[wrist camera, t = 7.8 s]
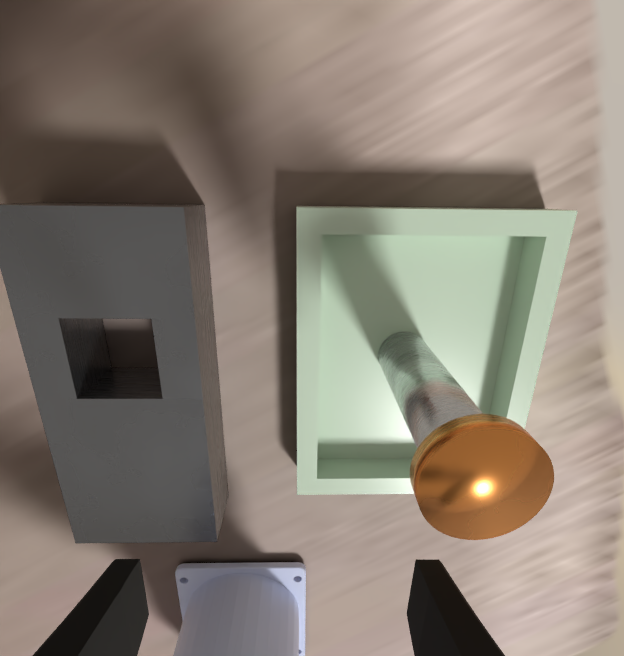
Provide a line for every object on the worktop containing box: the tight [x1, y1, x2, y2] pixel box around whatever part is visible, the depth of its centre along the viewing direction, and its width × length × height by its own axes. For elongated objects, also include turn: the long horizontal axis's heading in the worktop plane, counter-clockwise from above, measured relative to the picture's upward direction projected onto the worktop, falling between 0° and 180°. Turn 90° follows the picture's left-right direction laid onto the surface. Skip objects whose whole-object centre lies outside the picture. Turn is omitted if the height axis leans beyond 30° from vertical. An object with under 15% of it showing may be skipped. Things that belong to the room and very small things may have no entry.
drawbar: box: [0, 203, 228, 543], centre depth 17 cm, size 16×7×3 cm, turn 179°
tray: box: [296, 206, 577, 495], centre depth 18 cm, size 14×11×2 cm
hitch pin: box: [378, 331, 554, 540], centre depth 14 cm, size 4×4×9 cm
